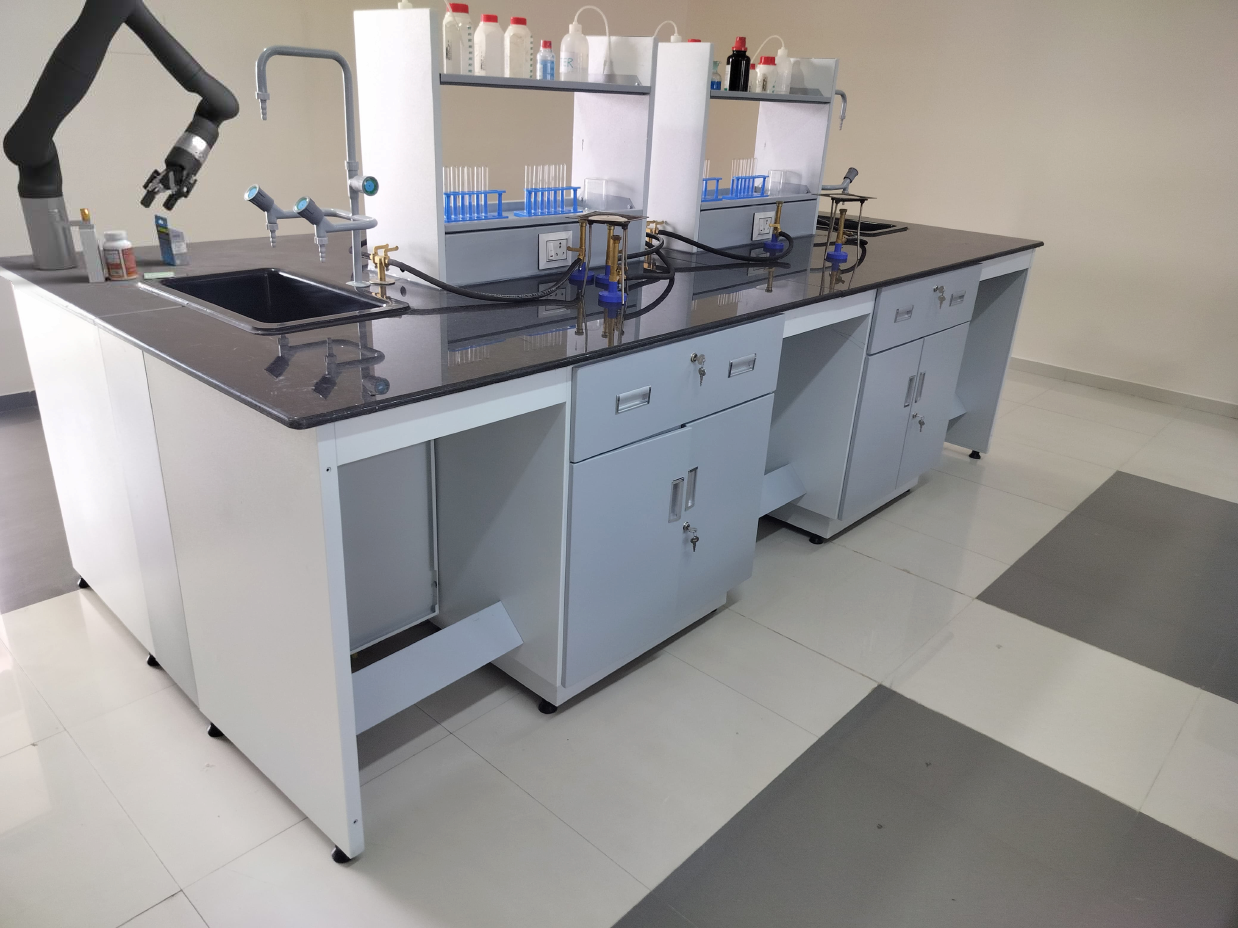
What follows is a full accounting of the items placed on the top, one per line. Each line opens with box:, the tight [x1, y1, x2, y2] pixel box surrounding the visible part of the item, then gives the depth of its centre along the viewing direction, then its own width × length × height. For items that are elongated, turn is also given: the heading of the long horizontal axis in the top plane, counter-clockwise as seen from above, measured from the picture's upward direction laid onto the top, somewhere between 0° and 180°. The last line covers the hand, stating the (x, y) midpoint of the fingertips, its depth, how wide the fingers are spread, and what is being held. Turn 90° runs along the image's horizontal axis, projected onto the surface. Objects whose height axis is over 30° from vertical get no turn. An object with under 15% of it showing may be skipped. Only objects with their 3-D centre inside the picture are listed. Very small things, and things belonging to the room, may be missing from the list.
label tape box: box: [154, 214, 190, 267], centre depth 226 cm, size 9×4×12 cm, turn 46°
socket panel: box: [77, 223, 106, 284], centre depth 205 cm, size 9×3×13 cm, turn 27°
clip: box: [55, 208, 92, 228], centre depth 199 cm, size 2×7×4 cm, turn 117°
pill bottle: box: [101, 229, 138, 282], centre depth 206 cm, size 6×6×11 cm
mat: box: [143, 271, 175, 280], centre depth 212 cm, size 6×6×1 cm
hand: (155, 207), depth 212 cm, fingers open, 8 cm apart
